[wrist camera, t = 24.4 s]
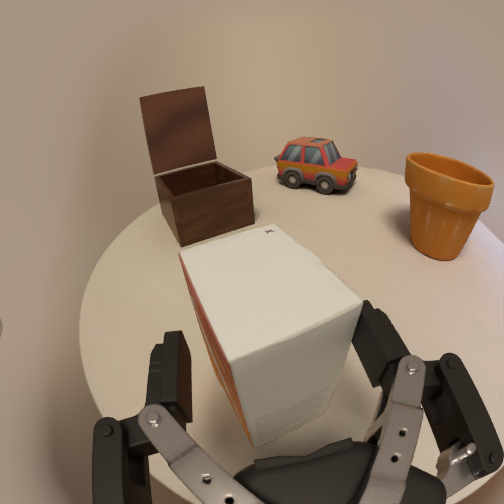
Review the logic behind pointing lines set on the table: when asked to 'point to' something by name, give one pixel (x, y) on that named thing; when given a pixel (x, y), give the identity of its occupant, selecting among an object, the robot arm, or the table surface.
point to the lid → (177, 128)
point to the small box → (271, 326)
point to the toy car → (315, 165)
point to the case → (205, 201)
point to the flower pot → (444, 202)
